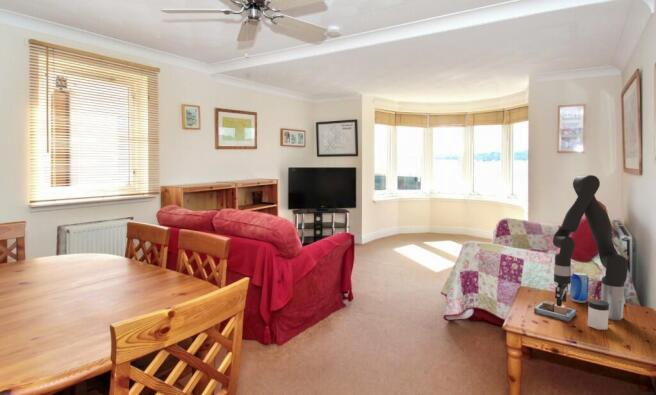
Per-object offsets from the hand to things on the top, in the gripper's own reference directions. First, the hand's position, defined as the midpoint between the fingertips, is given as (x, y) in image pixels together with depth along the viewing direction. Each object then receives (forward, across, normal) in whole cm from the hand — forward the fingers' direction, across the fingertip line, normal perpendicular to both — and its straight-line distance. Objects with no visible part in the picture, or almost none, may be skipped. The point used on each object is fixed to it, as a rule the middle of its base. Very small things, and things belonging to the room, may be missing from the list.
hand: (561, 303), depth 196 cm
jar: (+6, -3, -16) cm, 18 cm away
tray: (+6, -1, +3) cm, 7 cm away
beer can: (+6, +29, -2) cm, 30 cm away
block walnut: (+5, 0, +6) cm, 8 cm away
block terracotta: (+5, -1, 0) cm, 5 cm away
